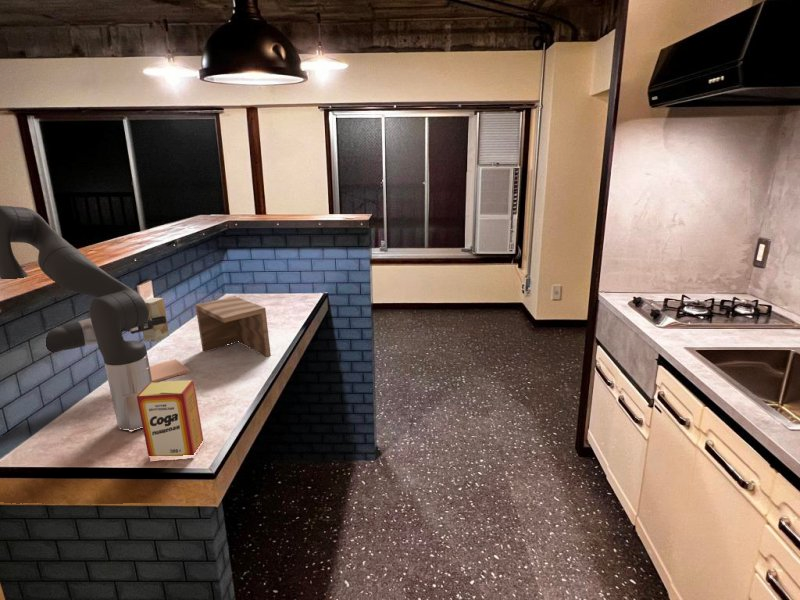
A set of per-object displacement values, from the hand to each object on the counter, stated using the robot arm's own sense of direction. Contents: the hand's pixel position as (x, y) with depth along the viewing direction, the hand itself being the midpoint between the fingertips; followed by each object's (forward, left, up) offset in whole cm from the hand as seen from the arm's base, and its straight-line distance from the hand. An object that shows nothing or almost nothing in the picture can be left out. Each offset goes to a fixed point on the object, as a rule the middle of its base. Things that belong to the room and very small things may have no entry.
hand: (161, 316), depth 151 cm
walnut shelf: (-2, -21, -18) cm, 27 cm away
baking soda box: (-49, +15, -18) cm, 54 cm away
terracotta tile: (0, +2, -18) cm, 18 cm away
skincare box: (0, +2, -7) cm, 7 cm away
